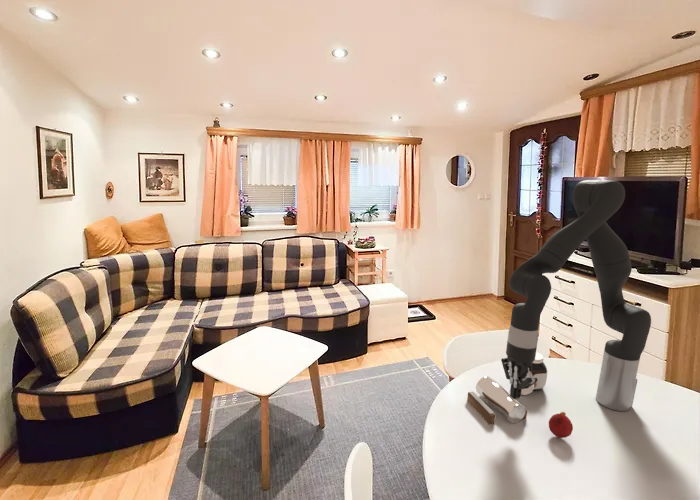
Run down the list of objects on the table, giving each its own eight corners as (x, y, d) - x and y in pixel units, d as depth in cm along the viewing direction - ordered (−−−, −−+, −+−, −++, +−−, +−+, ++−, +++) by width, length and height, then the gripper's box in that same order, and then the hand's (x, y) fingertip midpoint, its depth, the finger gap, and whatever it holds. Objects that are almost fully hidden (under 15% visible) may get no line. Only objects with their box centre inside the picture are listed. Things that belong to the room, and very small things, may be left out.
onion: (561, 447, 103) (565, 421, 101) (542, 434, 108) (546, 409, 106) (574, 441, 106) (579, 415, 104) (555, 428, 111) (559, 403, 109)
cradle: (501, 396, 126) (502, 387, 125) (526, 419, 114) (527, 409, 114) (467, 400, 123) (468, 391, 122) (488, 424, 111) (490, 414, 111)
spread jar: (539, 381, 136) (544, 351, 133) (551, 400, 125) (556, 367, 122) (504, 377, 137) (508, 347, 135) (512, 395, 126) (517, 363, 124)
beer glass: (530, 407, 113) (496, 379, 127) (516, 400, 110) (482, 372, 124) (518, 427, 113) (485, 397, 127) (503, 421, 110) (471, 391, 124)
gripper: (551, 351, 101) (542, 409, 104) (518, 330, 113) (511, 383, 117) (526, 353, 99) (518, 413, 102) (495, 332, 111) (489, 386, 115)
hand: (514, 397), depth 110 cm, fingers closed
